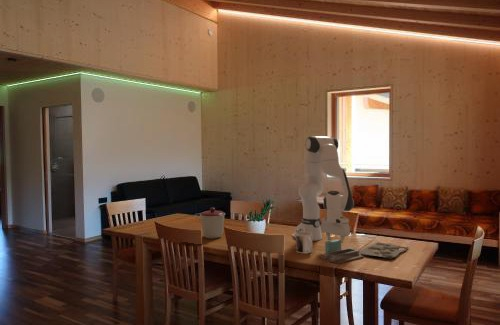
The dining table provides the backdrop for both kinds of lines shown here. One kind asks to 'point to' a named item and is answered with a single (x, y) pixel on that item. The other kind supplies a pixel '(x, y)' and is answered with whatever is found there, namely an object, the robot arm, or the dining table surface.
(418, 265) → the dining table surface
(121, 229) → the dining table surface
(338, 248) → the teal box
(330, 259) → the track sill
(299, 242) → the mug
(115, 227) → the dining table surface
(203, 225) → the canister
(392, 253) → the stone relief
